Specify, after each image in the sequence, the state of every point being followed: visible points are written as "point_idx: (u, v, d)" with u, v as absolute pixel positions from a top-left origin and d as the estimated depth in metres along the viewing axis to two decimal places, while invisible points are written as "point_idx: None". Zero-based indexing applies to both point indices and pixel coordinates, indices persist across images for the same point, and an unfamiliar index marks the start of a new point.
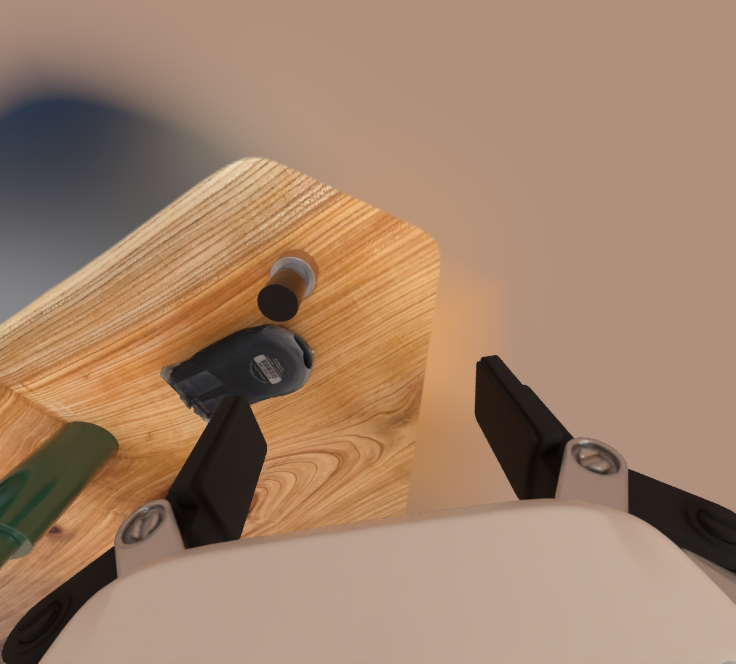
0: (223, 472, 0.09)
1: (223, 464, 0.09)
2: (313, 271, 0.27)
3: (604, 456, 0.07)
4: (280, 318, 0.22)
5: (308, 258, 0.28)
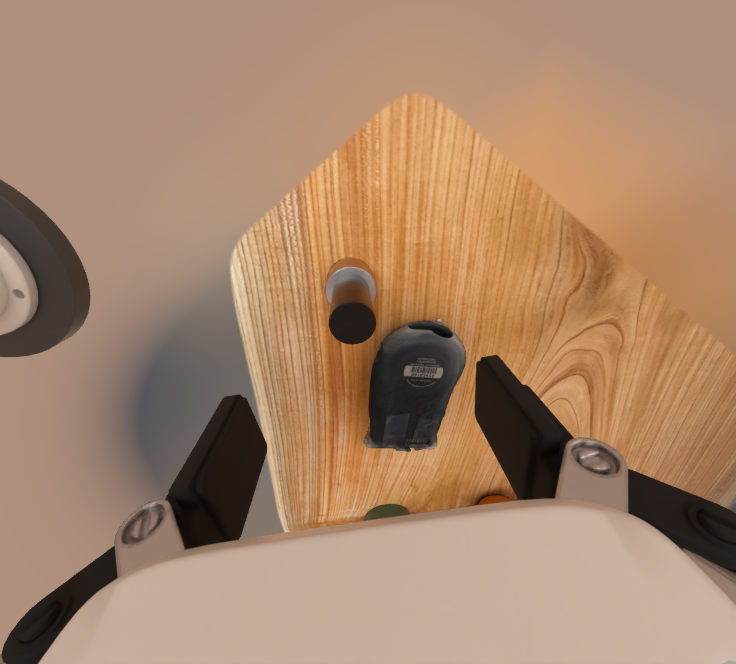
0: (223, 472, 0.09)
1: (223, 464, 0.09)
2: (355, 266, 0.23)
3: (604, 456, 0.07)
4: (369, 332, 0.19)
5: (342, 262, 0.24)
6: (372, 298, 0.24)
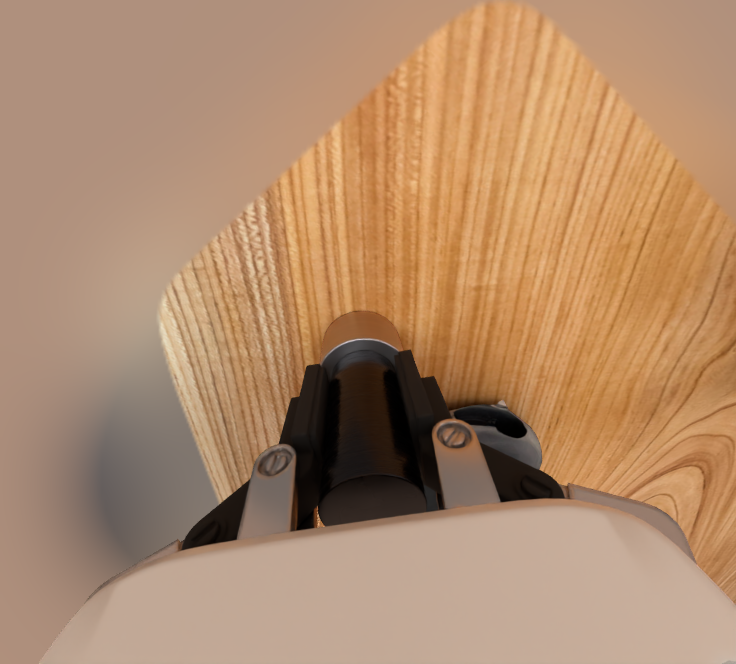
0: (322, 426, 0.10)
1: (322, 420, 0.10)
2: (372, 336, 0.13)
3: (458, 430, 0.08)
4: None
5: (349, 323, 0.14)
6: None
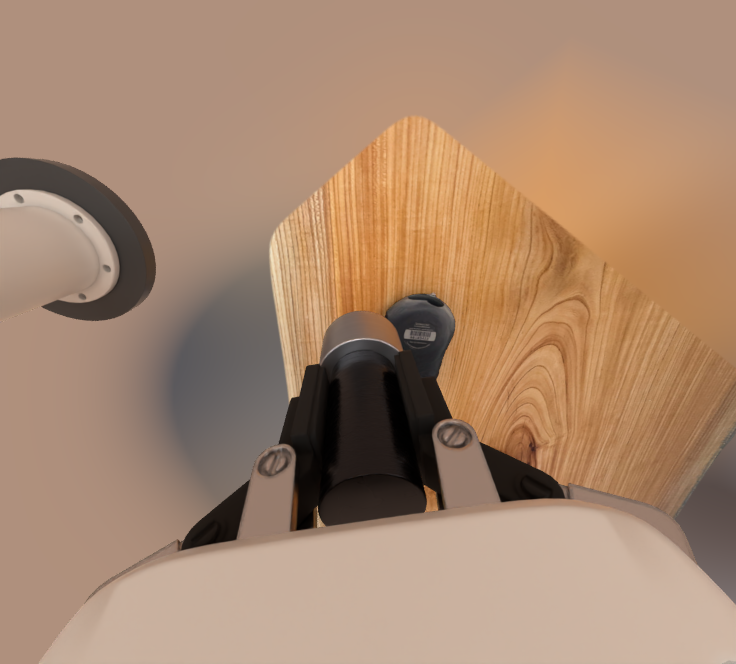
0: (322, 426, 0.10)
1: (321, 420, 0.10)
2: (372, 336, 0.13)
3: (458, 430, 0.08)
4: None
5: (349, 323, 0.14)
6: None
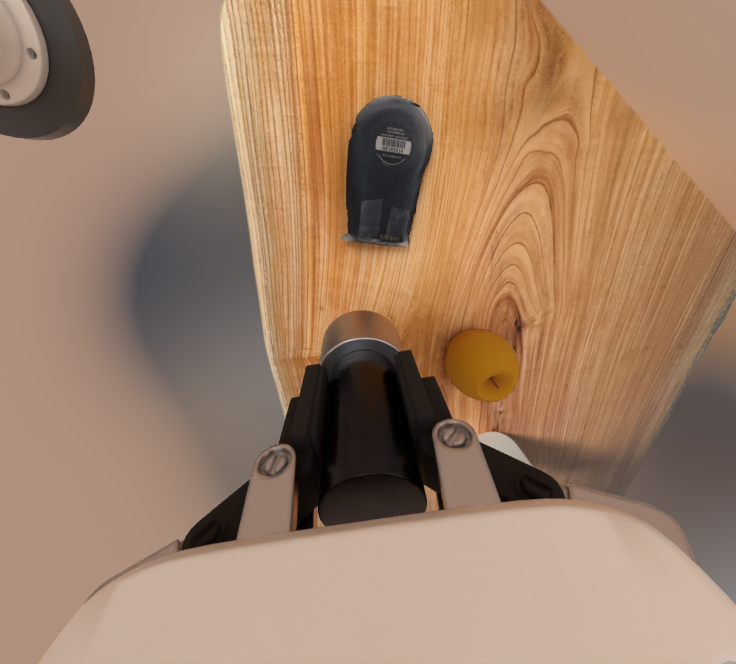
0: (322, 426, 0.10)
1: (321, 420, 0.10)
2: (372, 335, 0.12)
3: (458, 430, 0.08)
4: None
5: (348, 323, 0.14)
6: None
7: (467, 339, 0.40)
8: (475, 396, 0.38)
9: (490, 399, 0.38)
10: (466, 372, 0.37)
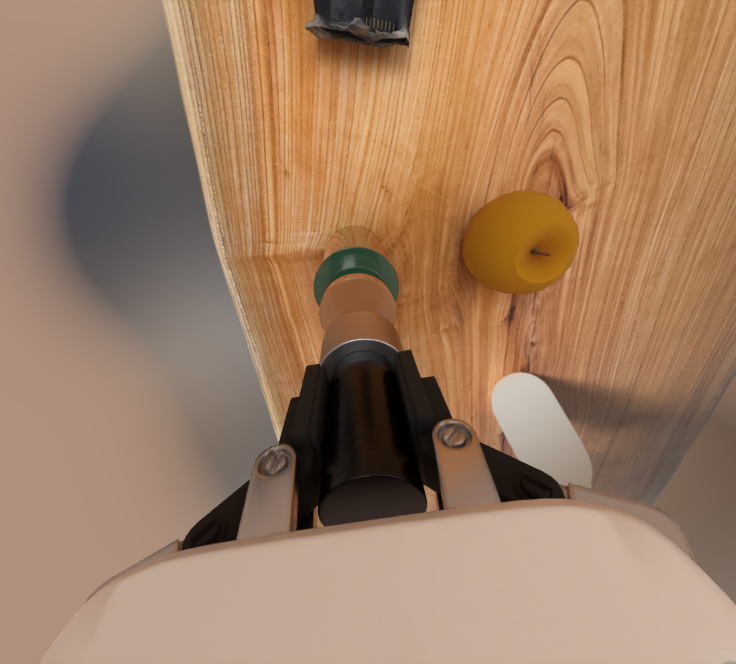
0: (322, 426, 0.10)
1: (321, 420, 0.10)
2: (372, 336, 0.12)
3: (458, 430, 0.08)
4: None
5: (348, 324, 0.14)
6: None
7: (498, 200, 0.27)
8: (512, 277, 0.26)
9: (535, 281, 0.25)
10: (499, 239, 0.25)
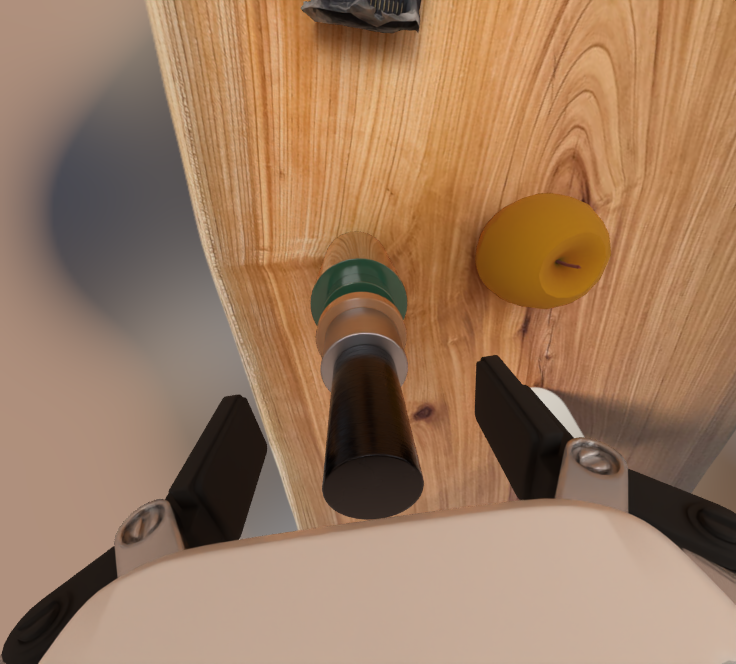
0: (223, 472, 0.09)
1: (223, 464, 0.09)
2: (373, 331, 0.13)
3: (604, 456, 0.07)
4: (407, 501, 0.09)
5: (350, 319, 0.14)
6: (400, 380, 0.14)
7: (517, 204, 0.24)
8: (534, 291, 0.23)
9: (560, 296, 0.23)
10: (520, 248, 0.22)
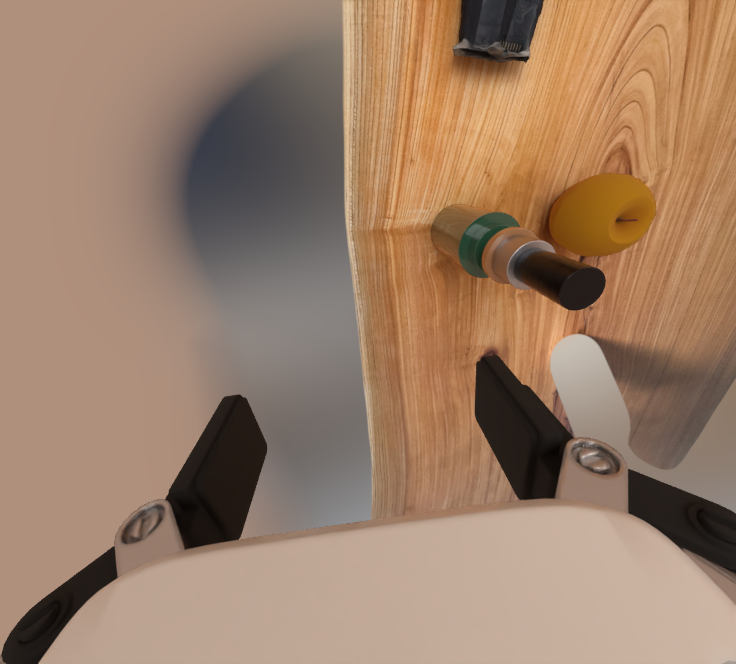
0: (223, 472, 0.09)
1: (223, 464, 0.09)
2: None
3: (604, 456, 0.07)
4: (594, 298, 0.19)
5: (520, 238, 0.25)
6: None
7: (588, 180, 0.34)
8: (602, 239, 0.33)
9: (620, 242, 0.33)
10: (595, 209, 0.32)
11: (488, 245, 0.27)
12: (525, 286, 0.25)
